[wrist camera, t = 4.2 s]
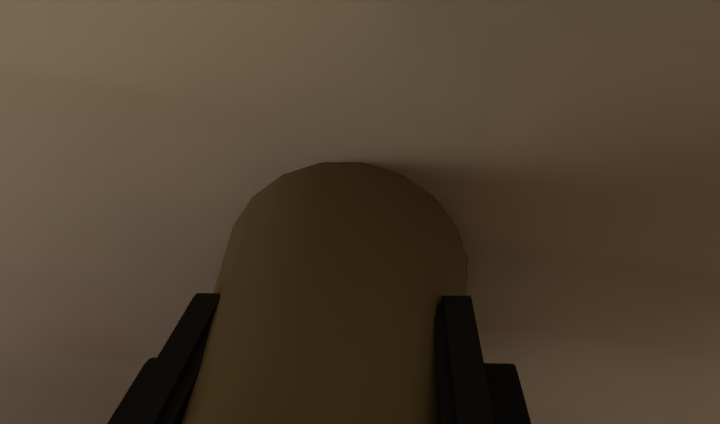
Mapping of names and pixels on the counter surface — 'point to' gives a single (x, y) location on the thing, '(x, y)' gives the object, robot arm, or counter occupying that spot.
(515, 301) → the counter surface
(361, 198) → the cork
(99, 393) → the counter surface
